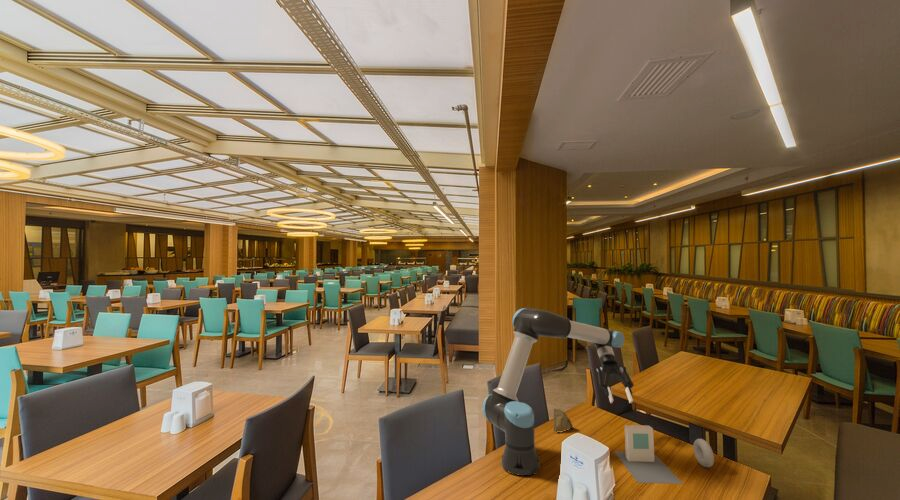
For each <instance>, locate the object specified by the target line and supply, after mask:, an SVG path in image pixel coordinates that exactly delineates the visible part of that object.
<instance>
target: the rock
mask: <svg viewBox="0 0 900 500" xmlns="http://www.w3.org/2000/svg"><path fill="white" fill-rule="evenodd" d="M553 419H554V422H553V432H554V431H555V432H557V431H564V430H567V429H569V428H573V429H574V426H573V424H572V422H571V419H570V418H569V417H568V415H567V414H566V412H564V411H563V410H562V409H559V408H554V409H553Z"/></svg>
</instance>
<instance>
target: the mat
mask: <svg viewBox="0 0 900 500" xmlns="http://www.w3.org/2000/svg"><path fill="white" fill-rule="evenodd" d="M614 454H615V455H616V456H617V458H618V459H619V460H620V461H621V463H622V465H624V467H625V468H626V469H627V470H628V472H629V473H630V474H631V476H632V477H633V479H634V480H635V481H636V482H637V484H673V485H674V484H675V485H676V484H677V485H678V484H679V485H684V483H683V482H682V480H681V479H679V477H677V476H676V475H675V474H674V473H673V472H672V471H671V470H670V468H669V467H668V466H667V465H666V464H665V463H664V462H663V461H662V460H661V459H660V458H659V457H658V456H657V455H656V454H655V453H654V462H639V461H628V459H627V458H626V451H614Z"/></svg>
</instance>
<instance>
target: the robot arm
mask: <svg viewBox="0 0 900 500" xmlns="http://www.w3.org/2000/svg"><path fill="white" fill-rule="evenodd" d="M511 323H512V327H513V335H514V338H513V342H512V344H511V347H510V351H509V354H508V355H507V359H506V363H505V365H504V368H503V370H502V371H503V372H502V373H501V376H500V380H499V382H498V385H497V387H496V388H493V389H492V393H490V394H488V395H487V396H486V397H485V398H484V400H483V403H482V414H483V416H484V418H485V420H487V421H488V423H490V424H491V425H493V426H495V427H496V428H498V429H499V430H501V431H502V432H504V434H505V435H504V436H505V440H504V441H505V443H504V444H505V446H504V450H503V453H502V456H501V467H502V466H503V467H502V469H503V468H504V469H505V470H507V471H509V472H511V473H513V474H519V475H531V474H534V473H536V472H537V471H538V470H539V471H540V469H541V466H540V465H541V464H540V463H541V462H540V458H539V457H538V452H537V450H536V446H535V414H534V410H533V408H532V407H531V406H530V405H528V404H527V403H525V402H522V401H521V402H520V401H519V399H518V397H517V393H518V390H519V388H520V387H519V386H520V384H521V381H522V379H523V374H524V372H525V369H526V365H527V362H528V359H529V358H530V354H531V350H532V347H533V344H535V343H537V342H538V340H539V337H545V338H557V339H566V338H569V339H574V340H580V341H585V342H588V343H590V344H592V345H594V346H595V348H596V352H597V355H598V357H599V358H598V359H599V361H600V364H601V366H597V367H596V370H595V371H596V373H597V379H598V386H599V388H600V389H603V390H604V393H605V395H606V396H608V400H609V403H610V404H613V402H614V396H613V395H612V391H611V387H610V386H608V383H609V379H610V376H615V377H616V378H617V379H618V381H620V383H621V384H622V385H623V386H624V388H625V389H624V390H625V394H626V397H627V399H628V403H629V404H633V402H634V399H633V397H632V396H633V391H632V388H633V387H634V385H635V384H634V383H633V381H632V379H631V377H630V375H629V374H628V372H627V368H626V366H623V367H622V366H621V367H620V366H619V364H618V361H617V359H616V358H617V357H616V355H615V353H614V350H613V348H621V347H623V346H624V344H625V335H624V334H623V333H622V332H621V331H617V330H611V329H608V328H603V327H599V326H594V325H590V324H587V323H582V322H579V321H574V320H570V319H569V318H568V317H567V316H563V315H560V314H557V313H553V312H551V311H549V310H548V311H547V310H545V309H536V308H531V307H524V308H523V307H522V308H519V309H518V310H516V312H515V313H514V314H513V316H512V321H511ZM602 371H603V372H604V373H605V377H604V382H603V374H602V373H603V372H602ZM539 468H540V469H539ZM504 469H503V470H504ZM505 470H504V471H505ZM507 471H506V472H507ZM539 471H538V472H539ZM538 472H537V473H538ZM537 473H536V474H537ZM513 474H512V475H513ZM534 475H535V474H534ZM531 476H532V475H531Z"/></svg>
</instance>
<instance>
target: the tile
mask: <svg viewBox="0 0 900 500" xmlns="http://www.w3.org/2000/svg"><path fill="white" fill-rule="evenodd" d="M624 441H625V443H624V445H625V446H624V447H625V448H624V449H625V452H626V458H627V459H628V461H639V462H654V454H655V445H654V428H653V427H652V426H650V425H637V424H636V425H635V424H634V425H633V424H631V425H630V424H624Z"/></svg>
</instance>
